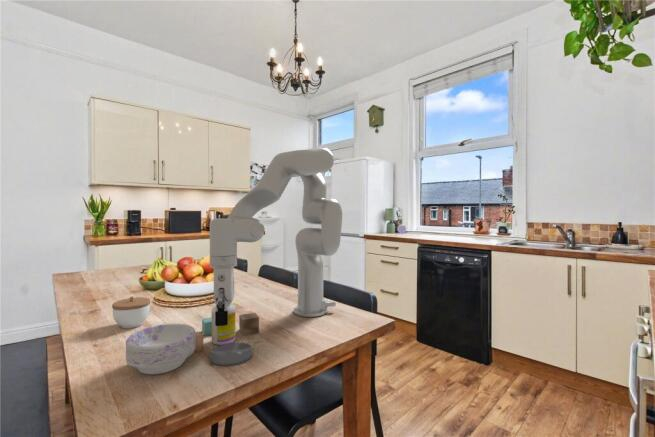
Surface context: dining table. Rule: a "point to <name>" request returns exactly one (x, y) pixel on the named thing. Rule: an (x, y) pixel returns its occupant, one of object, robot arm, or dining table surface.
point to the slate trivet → (231, 354)
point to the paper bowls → (160, 347)
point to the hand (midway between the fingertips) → (223, 319)
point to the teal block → (207, 326)
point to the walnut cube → (248, 324)
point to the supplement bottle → (224, 327)
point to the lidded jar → (131, 311)
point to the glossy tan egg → (198, 341)
